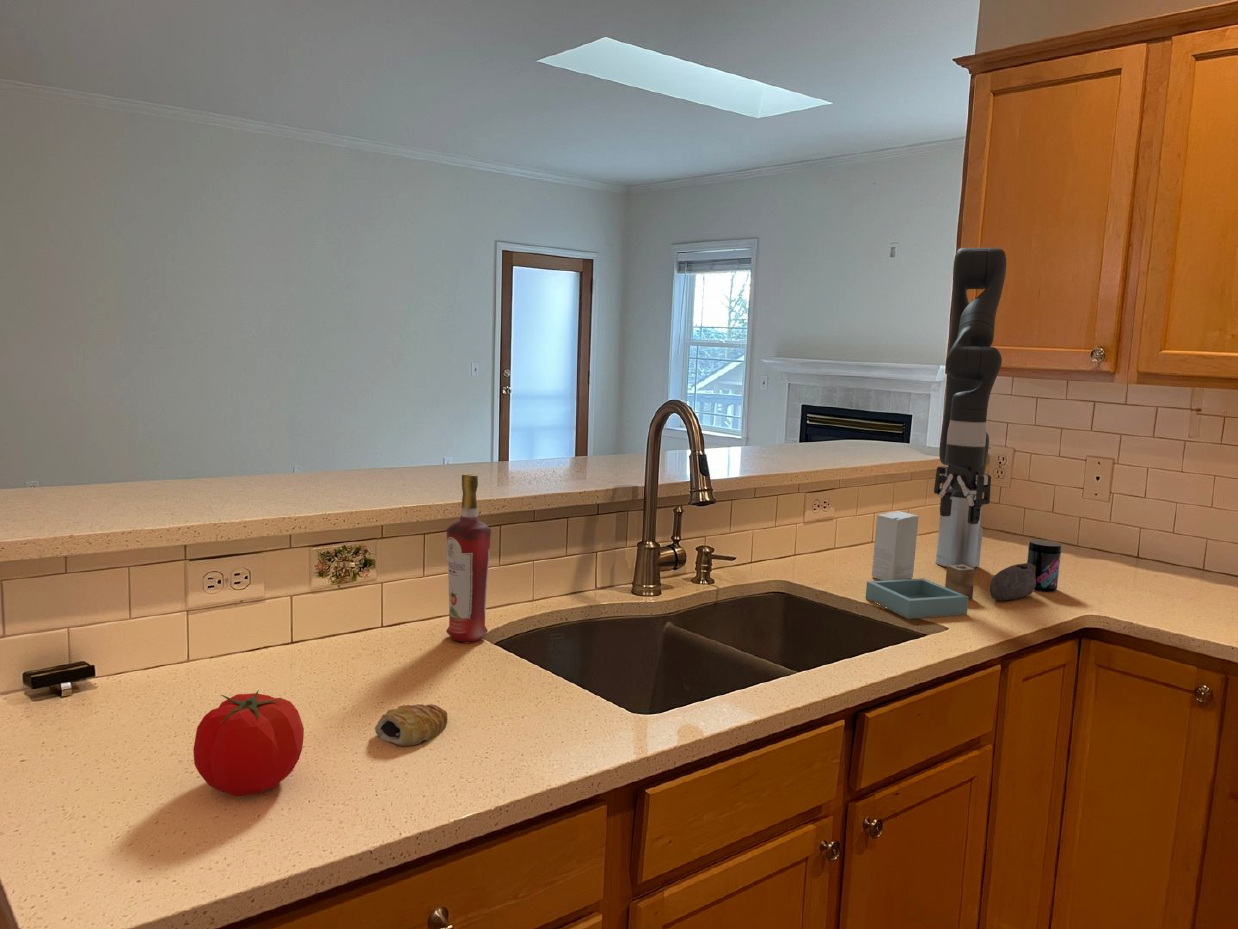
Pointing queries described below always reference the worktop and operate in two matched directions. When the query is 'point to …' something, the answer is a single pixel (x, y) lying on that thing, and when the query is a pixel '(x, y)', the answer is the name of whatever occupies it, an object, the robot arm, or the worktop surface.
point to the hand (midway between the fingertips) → (958, 519)
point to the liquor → (468, 568)
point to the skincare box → (895, 546)
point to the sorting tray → (917, 598)
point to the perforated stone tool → (1013, 582)
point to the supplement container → (1045, 563)
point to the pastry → (411, 724)
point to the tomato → (248, 743)
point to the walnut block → (960, 579)
